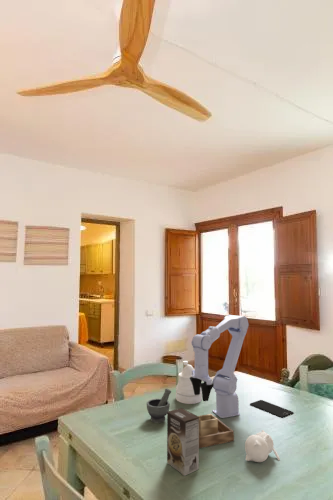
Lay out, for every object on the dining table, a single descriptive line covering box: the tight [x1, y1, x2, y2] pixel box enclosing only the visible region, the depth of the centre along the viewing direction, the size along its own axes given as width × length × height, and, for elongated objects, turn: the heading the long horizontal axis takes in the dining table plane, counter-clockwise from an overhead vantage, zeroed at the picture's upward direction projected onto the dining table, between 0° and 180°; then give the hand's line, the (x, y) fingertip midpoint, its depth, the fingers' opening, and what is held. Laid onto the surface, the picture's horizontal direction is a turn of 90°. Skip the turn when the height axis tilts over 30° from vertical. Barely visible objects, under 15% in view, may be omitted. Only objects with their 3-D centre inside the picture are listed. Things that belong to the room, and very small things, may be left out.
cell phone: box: [249, 399, 294, 419], centre depth 149 cm, size 9×18×1 cm, turn 35°
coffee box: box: [166, 407, 200, 477], centre depth 104 cm, size 9×6×16 cm
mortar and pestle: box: [146, 388, 172, 424], centre depth 138 cm, size 11×9×12 cm
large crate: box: [199, 417, 235, 449], centre depth 123 cm, size 15×15×4 cm
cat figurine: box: [244, 430, 281, 463], centre depth 108 cm, size 9×11×12 cm
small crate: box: [198, 413, 219, 437], centre depth 124 cm, size 7×5×6 cm
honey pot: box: [175, 360, 203, 405], centre depth 162 cm, size 13×13×18 cm
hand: (201, 397), depth 134 cm, fingers open, 7 cm apart
